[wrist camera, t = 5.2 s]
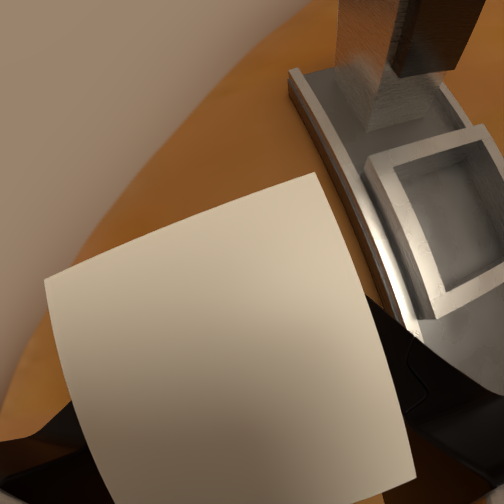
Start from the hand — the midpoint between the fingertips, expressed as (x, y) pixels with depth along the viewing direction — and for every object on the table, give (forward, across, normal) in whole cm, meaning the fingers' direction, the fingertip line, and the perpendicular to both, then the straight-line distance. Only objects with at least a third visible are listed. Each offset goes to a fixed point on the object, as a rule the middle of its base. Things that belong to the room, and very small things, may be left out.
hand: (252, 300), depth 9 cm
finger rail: (+5, -10, +4) cm, 12 cm away
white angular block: (+4, 0, +6) cm, 7 cm away
